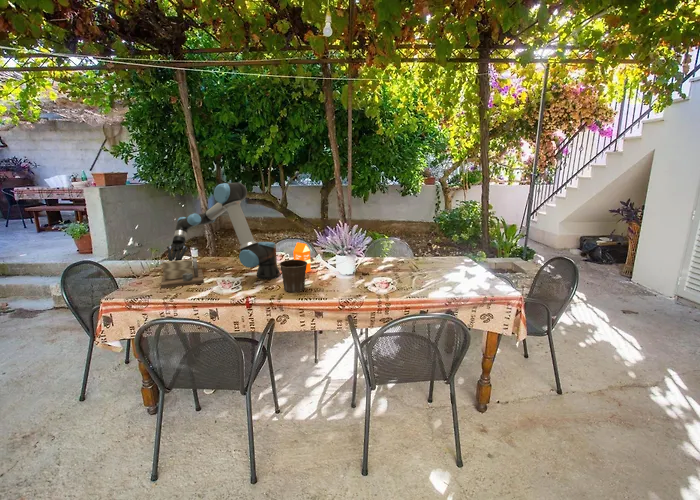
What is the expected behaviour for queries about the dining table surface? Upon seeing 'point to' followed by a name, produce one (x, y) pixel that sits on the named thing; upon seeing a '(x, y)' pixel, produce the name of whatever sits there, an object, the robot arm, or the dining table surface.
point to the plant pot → (293, 275)
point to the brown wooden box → (185, 278)
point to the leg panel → (177, 268)
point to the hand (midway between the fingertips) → (172, 269)
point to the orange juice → (302, 254)
